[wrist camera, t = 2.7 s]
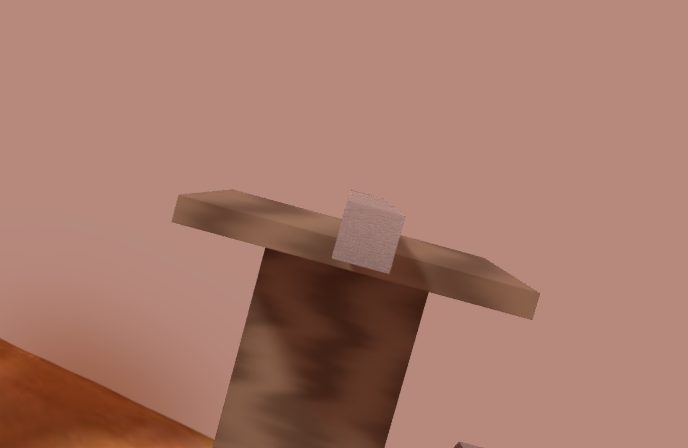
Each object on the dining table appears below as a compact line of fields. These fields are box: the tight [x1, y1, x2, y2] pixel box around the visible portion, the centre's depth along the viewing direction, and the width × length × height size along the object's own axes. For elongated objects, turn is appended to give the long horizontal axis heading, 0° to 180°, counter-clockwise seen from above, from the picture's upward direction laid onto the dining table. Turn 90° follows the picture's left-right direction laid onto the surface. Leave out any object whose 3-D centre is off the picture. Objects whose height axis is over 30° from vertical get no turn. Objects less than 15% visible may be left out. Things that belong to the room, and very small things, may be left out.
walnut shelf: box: [172, 190, 540, 448], centre depth 42 cm, size 20×15×26 cm
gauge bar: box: [332, 190, 405, 274], centre depth 36 cm, size 2×22×2 cm, turn 178°
